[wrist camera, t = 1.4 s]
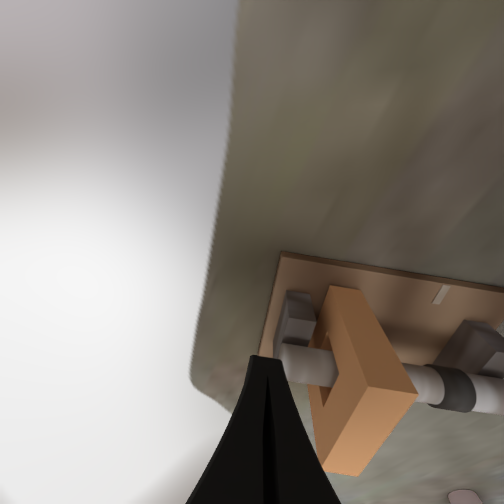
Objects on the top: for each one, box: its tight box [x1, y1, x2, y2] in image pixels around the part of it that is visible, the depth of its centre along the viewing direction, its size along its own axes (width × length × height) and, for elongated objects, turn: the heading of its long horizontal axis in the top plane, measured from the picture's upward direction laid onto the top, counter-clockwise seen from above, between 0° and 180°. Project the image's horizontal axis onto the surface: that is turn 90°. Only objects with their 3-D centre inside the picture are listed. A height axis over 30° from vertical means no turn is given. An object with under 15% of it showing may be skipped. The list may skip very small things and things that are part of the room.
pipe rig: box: [258, 251, 504, 416], centre depth 19 cm, size 19×12×7 cm, turn 82°
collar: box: [307, 285, 419, 477], centre depth 18 cm, size 2×9×9 cm, turn 172°
